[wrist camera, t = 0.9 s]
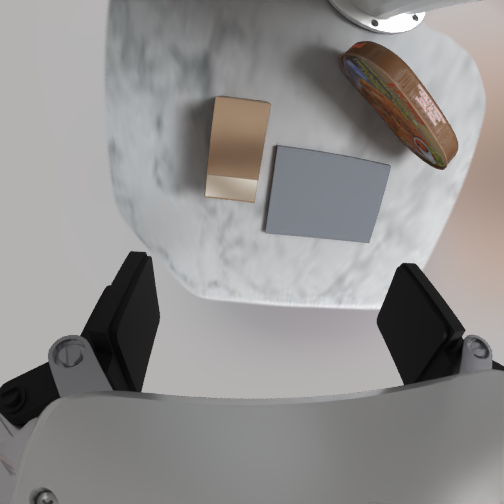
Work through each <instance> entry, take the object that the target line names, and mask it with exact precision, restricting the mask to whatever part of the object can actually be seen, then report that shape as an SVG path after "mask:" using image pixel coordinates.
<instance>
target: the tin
mask: <svg viewBox="0 0 504 504" xmlns="http://www.w3.org/2000/svg"><path fill="white" fill-rule="evenodd" d="M339 62H340V66H341V68H342V70H343V72H344V74H345V75H346V77H347V78H348V79H349V80H350V82H351V83H352V84H353V85H354V86H355V87H356V88H357V90H358V91H359V92H360V93H361V94H362V95H363V96H364V97H365V98H366V99H367V100H368V102H369V103H370V104H371V105H372V106H373V107H374V108H375V110H376V111H377V112H378V113H379V114H380V115H381V117H382V118H383V119H384V120H385V121H386V123H387V124H388V125H389V126H390V128H391V129H392V130H393V131H394V133H395V134H396V135H397V136H398V137H399V139H400V140H401V141H402V142H403V143H404V144H405V145H406V146H407V147H408V148H409V149H410V150H411V151H412V152H413V153H414V154H416V155H417V156H418V157H419V158H420V159H422V160H423V161H424V162H426V163H427V164H429V165H430V166H432V167H434V168H436V169H440V170H444V169H445V168H446V167H447V164H448V163H449V162H450V161H451V160H452V158H453V157H454V156H455V155H456V153H457V151H458V141H457V138H456V135H455V133H454V131H453V129H452V128H451V126H450V124H449V123H448V121H447V119H446V118H445V116H444V115H443V113H442V112H441V110H440V108H439V107H438V105H437V104H436V102H435V101H434V99H433V98H432V97H431V95H430V94H429V92H428V91H427V90H426V88H425V87H424V86H423V84H422V83H421V81H420V80H419V79H418V78H417V76H416V75H415V74H414V72H413V71H412V70H411V69H410V67H409V66H408V65H407V64H406V63H405V62H404V61H403V60H402V59H401V58H400V57H398V56H397V55H396V54H395V53H393V52H392V51H390V50H389V49H387V48H385V47H384V46H382V45H380V44H377V43H374V42H370V41H363V42H358V43H356V44H354V45H353V46H352V47H351V48H350V49H349V50H348V51H347V52H346V53H343V54H342V55H341V56H340V58H339Z"/></svg>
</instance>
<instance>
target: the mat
mask: <svg viewBox="0 0 504 504" xmlns="http://www.w3.org/2000/svg"><path fill="white" fill-rule="evenodd" d="M390 168H391V166H390V165H387V164H383V163H379V162H374V161H369V160H365V159H360V158H355V157H350V156H344V155H339V154H333V153H327V152H321V151H315V150H309V149H302V148H295V147H288V146H280V145H277V150H276V157H275V165H274V172H273V179H272V186H271V193H270V200H269V207H268V214H267V221H266V228H265V233H269V234H280V235H291V236H302V237H313V238H323V239H334V240H344V241H353V242H363V243H369V241H370V238H371V235H372V232H373V229H374V226H375V222H376V219H377V216H378V213H379V209H380V206H381V202H382V199H383V195H384V191H385V188H386V184H387V180H388V176H389V172H390Z"/></svg>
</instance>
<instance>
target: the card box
mask: <svg viewBox="0 0 504 504" xmlns="http://www.w3.org/2000/svg"><path fill="white" fill-rule="evenodd" d="M270 106H271V104H270V103H268V102H266V101H260V100H253V99H245V98H237V97H228V96H218V97H216V99H215V106H214V114H213V122H212V130H211V139H210V148H209V157H208V167H207V177H206V188H205V197H208V198H217V199H226V200H235V201H243V202H251V203H255V197H256V190H257V184H258V178H259V172H260V166H261V160H262V154H263V148H264V142H265V136H266V130H267V124H268V118H269V112H270Z"/></svg>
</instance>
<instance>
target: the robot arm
mask: <svg viewBox="0 0 504 504" xmlns="http://www.w3.org/2000/svg"><path fill="white" fill-rule="evenodd" d="M328 1H329V2H330V3H331V4H332V5H333V7H334V8H335V9H336V10H338V11H339V12H340V13H341V14H342V15H343V16H344V17H346V18H347V19H349V20H350V21H352V22H353V23H355V24H357V25H359V26H361V27H363V28H365V29H368V30H371V31H373V32H378V33H383V34H397V33H402V32H406V31H409V30H411V29H413V28H415V27H416V26H417V25H419V24H420V23H421V21H422V19H423V18H424V16H425V13H426V12H427V11H431V10H434V9H439V8H443V7H448V6H452V5H458V4H463V3H468V2H474V1H481V0H328ZM371 23H373V26H372V24H371ZM159 319H160V312H159V305H158V299H157V293H156V286H155V278H154V271H153V264H152V258H151V256H147V254H146V252H134V251H131V252H130V253H129V254H128V256H127V258H126V259H125V261H124V263H123V264H122V266H121V268H120V270H119V271H118V273H117V275H116V277H115V279H114V280H113V282H112V285H111V286H110V285H109V286H107V287H106V288H105V290H104V291H103V293H102V295H101V297H100V299H99V300H98V302H97V304H96V306H95V308H94V310H93V312H92V314H91V316H90V318H89V319H88V321H87V324H86V325H85V327H84V330H83V332H82V333H81V335H80V336H78V335H68V336H65V337H62V338H60V339H58V340H57V341H56V342H55V343H54V344H53V345H52V346H51V348H50V349H49V353H48V360H49V362H47V363H45V364H43V365H41V366H39V367H37V368H35V369H33V370H30V371H28V372H26V373H25V374H22V375H20V376H18V377H16V378H14V379H12V380H10V381H8V382H6V383H5V384H3V385H2V386H1V388H0V504H504V366H502V365H500V364H499V363H497V362H495V361H493V360H492V350H491V348H490V346H489V345H488V343H487V342H486V341H485V340H484V339H482V338H481V337H479V336H476V335H468V336H467V337H465V339H464V340H463V338H462V335H463V334H464V332H465V329H464V327H463V326H462V324H461V323H460V321H459V320H458V319H457V317H456V316H455V314H454V313H453V311H452V310H451V309H450V307H449V306H448V305H447V303H446V302H445V300H444V299H443V298H442V296H441V295H440V294H439V293H438V291H437V290H436V289H435V288H434V286H433V285H432V283H431V282H430V281H429V280H428V278H427V277H426V276H425V274H424V273H423V272H422V271H421V270H420V268H419V267H418V266H417V265H416V264H414V263H402V264H401V265H400V267H398V268H397V269H396V272H395V274H394V277H393V280H392V282H391V285H390V287H389V290H388V293H387V295H386V298H385V300H384V302H383V305H382V307H381V310H380V312H379V314H378V317H377V325H378V328H379V330H380V332H381V334H382V336H383V338H384V340H385V343H386V345H387V347H388V349H389V351H390V353H391V356H392V358H393V360H394V362H395V365H396V367H397V369H398V372H399V374H400V376H401V378H402V381H403V383H404V385H403V386H398V387H392V388H386V389H379V390H372V391H365V392H357V393H349V394H339V395H329V396H317V397H300V398H276V399H231V398H206V397H189V396H175V395H164V394H154V393H142V392H141V391H142V386H143V382H144V378H145V374H146V370H147V366H148V362H149V358H150V354H151V350H152V347H153V343H154V339H155V336H156V332H157V328H158V325H159V321H160V320H159Z"/></svg>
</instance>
